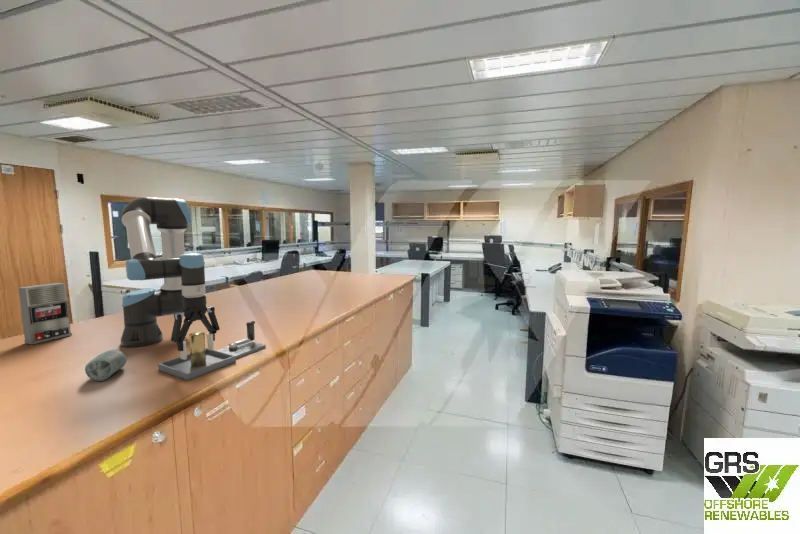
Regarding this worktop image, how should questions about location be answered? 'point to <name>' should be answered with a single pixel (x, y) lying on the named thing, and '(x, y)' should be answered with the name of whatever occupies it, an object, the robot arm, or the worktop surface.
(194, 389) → the worktop surface
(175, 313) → the robot arm
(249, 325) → the crank lever
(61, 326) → the cassette tape recorder
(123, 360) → the spool
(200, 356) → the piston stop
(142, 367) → the worktop surface
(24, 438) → the worktop surface
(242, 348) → the crank plate
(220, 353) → the tray
